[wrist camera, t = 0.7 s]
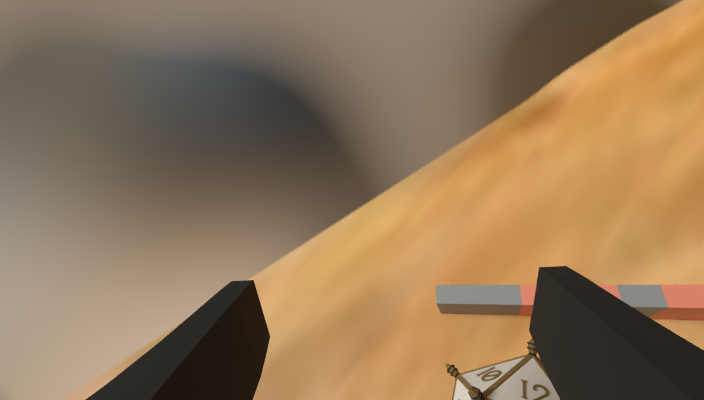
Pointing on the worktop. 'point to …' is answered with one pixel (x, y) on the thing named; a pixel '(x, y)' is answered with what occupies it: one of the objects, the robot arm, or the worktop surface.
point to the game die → (505, 380)
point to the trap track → (644, 298)
